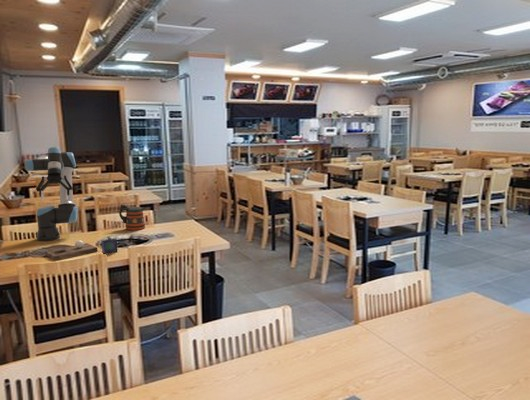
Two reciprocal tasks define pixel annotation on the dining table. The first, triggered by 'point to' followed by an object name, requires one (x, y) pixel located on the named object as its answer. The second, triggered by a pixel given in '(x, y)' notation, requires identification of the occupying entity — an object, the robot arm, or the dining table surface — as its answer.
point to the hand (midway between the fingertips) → (54, 200)
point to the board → (70, 251)
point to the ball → (79, 244)
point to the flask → (109, 245)
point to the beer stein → (133, 217)
